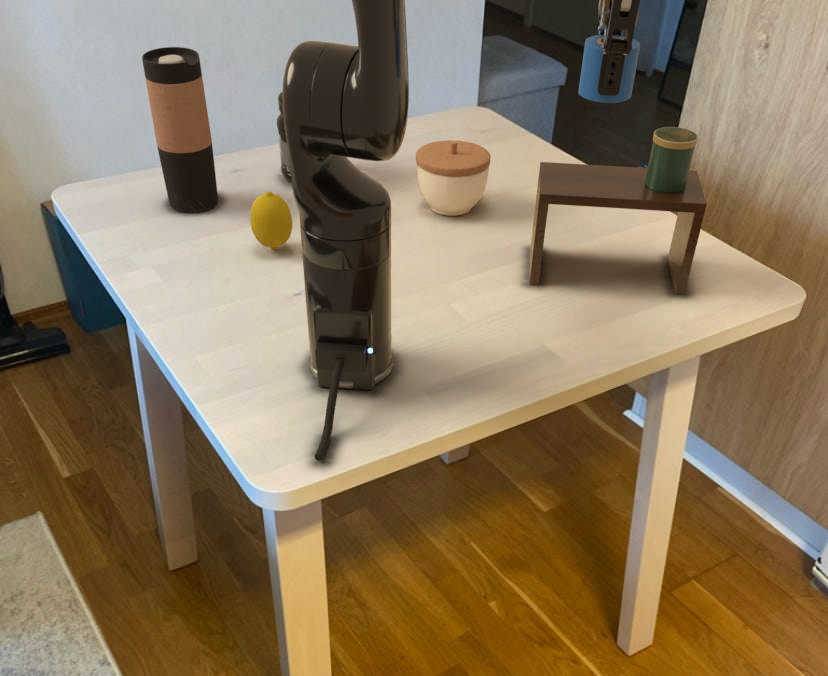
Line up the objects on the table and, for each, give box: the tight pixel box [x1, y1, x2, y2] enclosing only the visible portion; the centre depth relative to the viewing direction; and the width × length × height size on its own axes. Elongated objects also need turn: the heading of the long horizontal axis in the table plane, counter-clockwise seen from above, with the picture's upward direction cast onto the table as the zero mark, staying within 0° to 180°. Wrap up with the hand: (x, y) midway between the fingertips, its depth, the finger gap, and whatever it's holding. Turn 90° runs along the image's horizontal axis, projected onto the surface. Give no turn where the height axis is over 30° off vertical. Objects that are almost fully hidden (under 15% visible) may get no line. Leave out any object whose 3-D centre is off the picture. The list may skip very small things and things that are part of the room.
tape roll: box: [578, 34, 641, 104], centre depth 93 cm, size 6×6×5 cm
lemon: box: [250, 191, 293, 251], centre depth 120 cm, size 6×6×8 cm
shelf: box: [528, 161, 708, 296], centre depth 115 cm, size 10×20×12 cm, turn 84°
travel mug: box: [141, 46, 219, 214], centre depth 126 cm, size 8×8×20 cm
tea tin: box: [645, 126, 699, 193], centre depth 109 cm, size 5×5×6 cm
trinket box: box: [415, 139, 492, 217], centre depth 130 cm, size 11×11×9 cm
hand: (606, 84), depth 94 cm, fingers closed on tape roll, 5 cm apart
